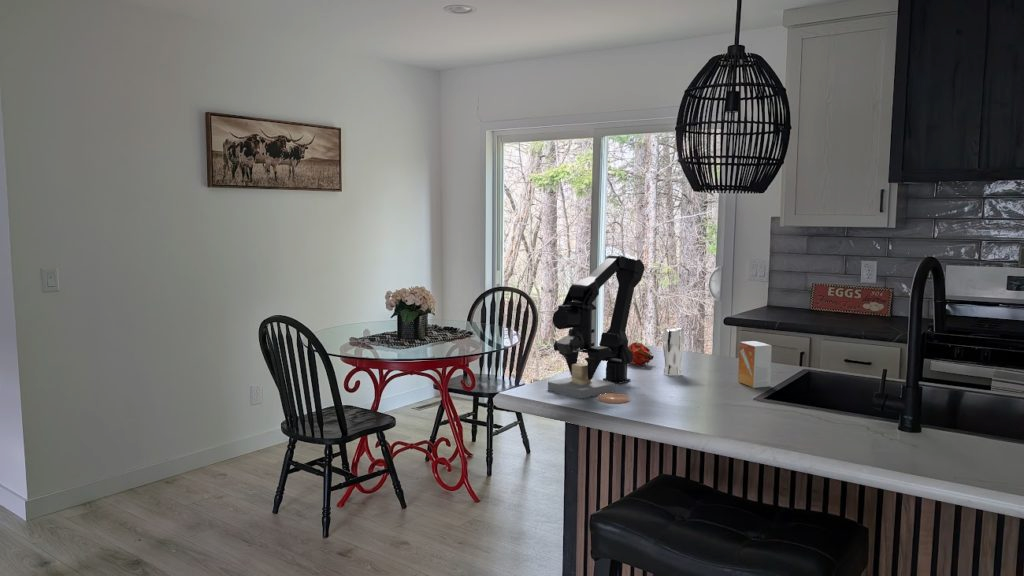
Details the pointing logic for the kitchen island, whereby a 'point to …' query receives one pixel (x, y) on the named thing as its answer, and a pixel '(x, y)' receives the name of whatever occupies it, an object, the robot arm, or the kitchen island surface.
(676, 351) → the beer glass
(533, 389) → the kitchen island surface
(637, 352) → the dragon fruit
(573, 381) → the beech block
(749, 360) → the small box
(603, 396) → the coaster
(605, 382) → the pocket board
